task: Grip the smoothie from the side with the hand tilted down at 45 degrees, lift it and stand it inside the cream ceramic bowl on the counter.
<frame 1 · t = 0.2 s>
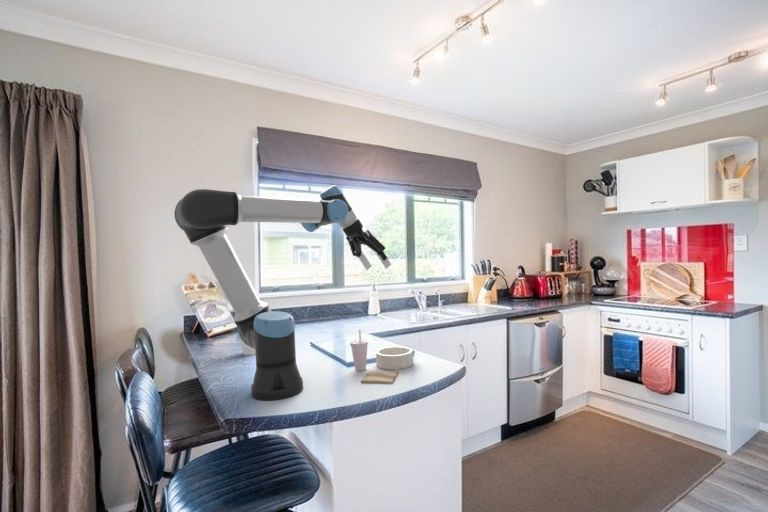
hand: (378, 267, 153), 35 cm above the counter, tool tilted 35°, fingers open, 13 cm apart
bowl: (394, 364, 137), on the counter
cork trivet: (380, 377, 123), on the counter
smoothie: (360, 369, 133), on the counter
foam cup: (251, 353, 165), on the counter
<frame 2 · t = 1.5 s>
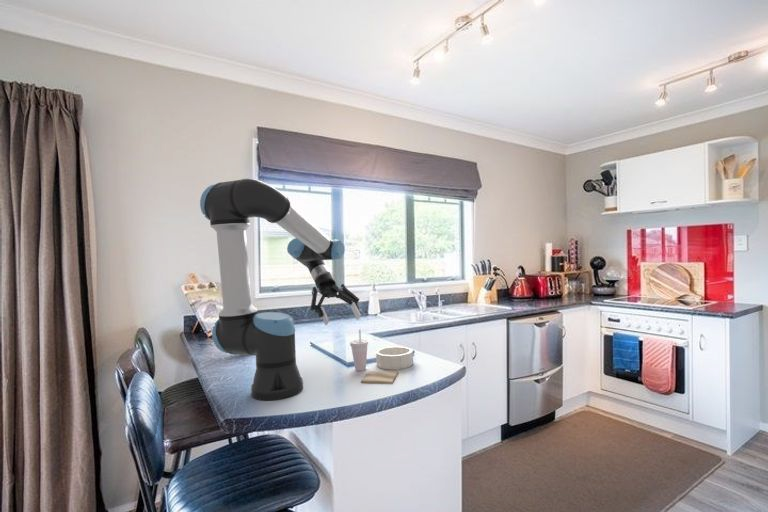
hand: (343, 320, 142), 16 cm above the counter, tool tilted 45°, fingers open, 13 cm apart
nothing on the counter moved.
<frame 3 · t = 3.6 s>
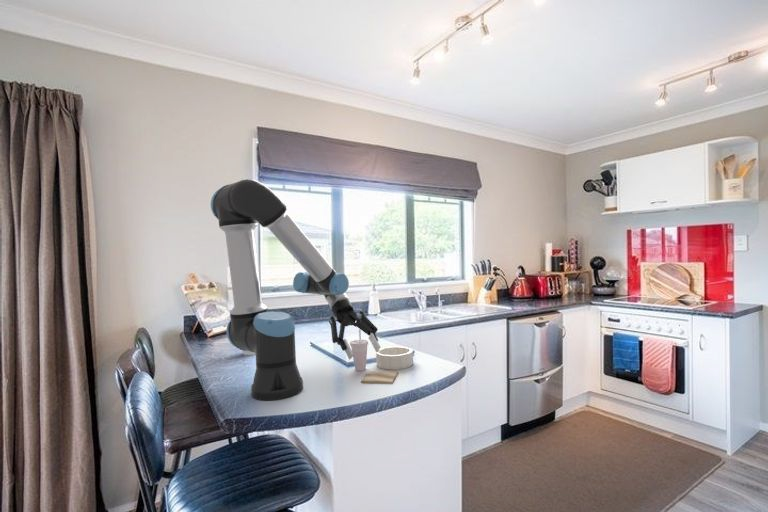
hand: (365, 353, 131), 6 cm above the counter, tool tilted 45°, fingers open, 10 cm apart
nothing on the counter moved.
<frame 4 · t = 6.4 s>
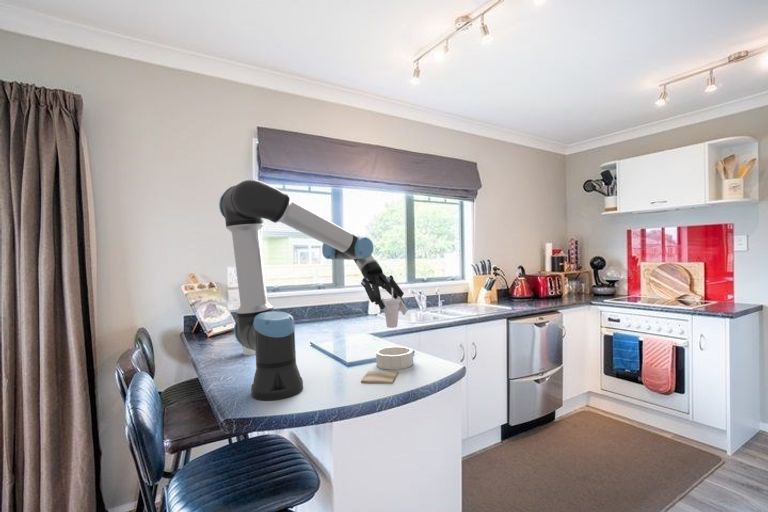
hand: (397, 313, 134), 19 cm above the counter, tool tilted 45°, fingers closed on smoothie, 6 cm apart
smoothie: (392, 327, 137), point 13 cm above the counter, touching gripper
everything else where it was.
when the fingers open (7 cm above the counter, at t = 8.8 s): smoothie drops 1 cm, resting on bowl.
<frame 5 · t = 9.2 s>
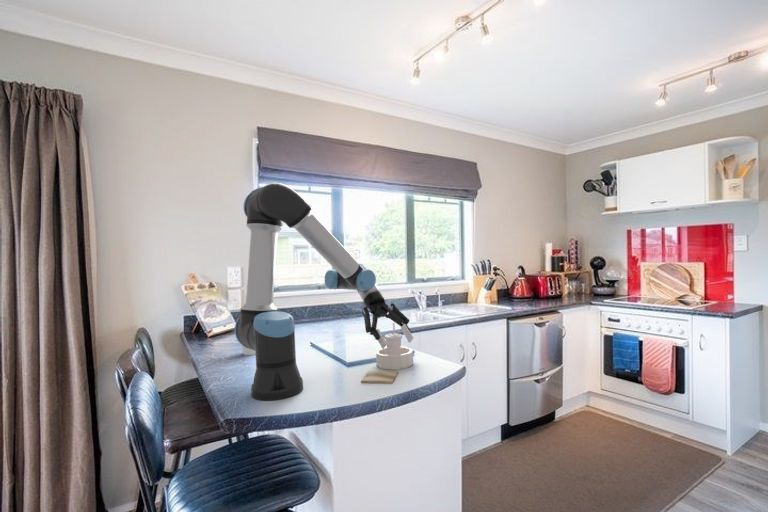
hand: (398, 343, 135), 8 cm above the counter, tool tilted 45°, fingers open, 11 cm apart
smoothie: (394, 362, 137), point 1 cm above the counter, touching bowl
everything else where it was.
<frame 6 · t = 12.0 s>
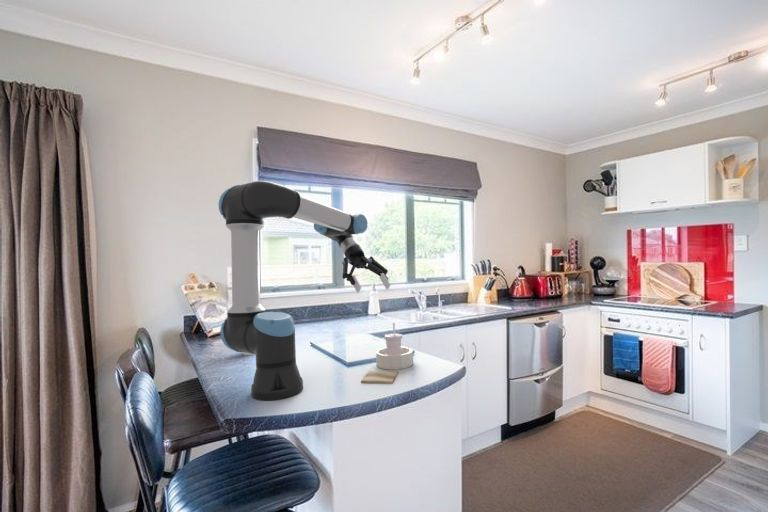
hand: (374, 288, 146), 27 cm above the counter, tool tilted 45°, fingers open, 13 cm apart
nothing on the counter moved.
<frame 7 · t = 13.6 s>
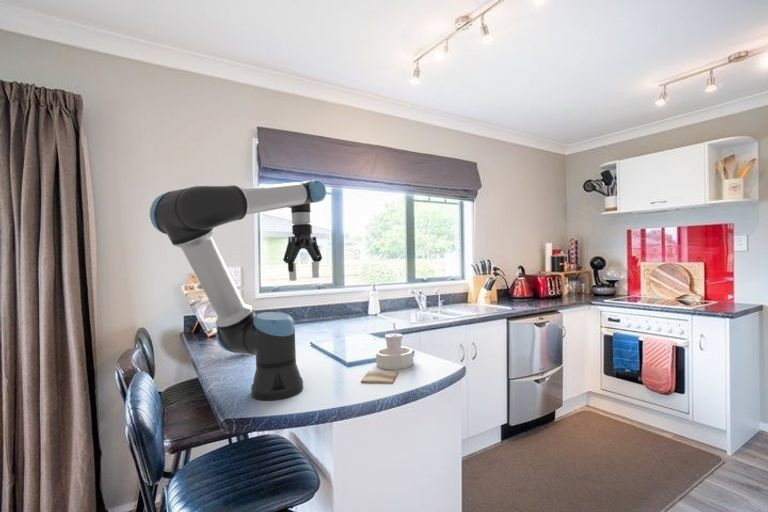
hand: (304, 279, 147), 32 cm above the counter, tool pointing down, fingers open, 13 cm apart
nothing on the counter moved.
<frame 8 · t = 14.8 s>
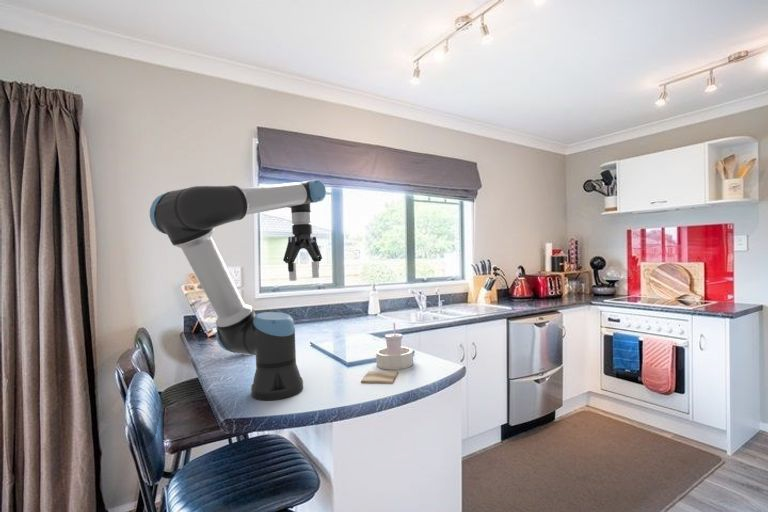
hand: (304, 279, 147), 32 cm above the counter, tool pointing down, fingers open, 13 cm apart
nothing on the counter moved.
at the end: smoothie 0.1 cm from the bowl (horizontally); smoothie tilted 0°; the gripper is holding nothing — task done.
